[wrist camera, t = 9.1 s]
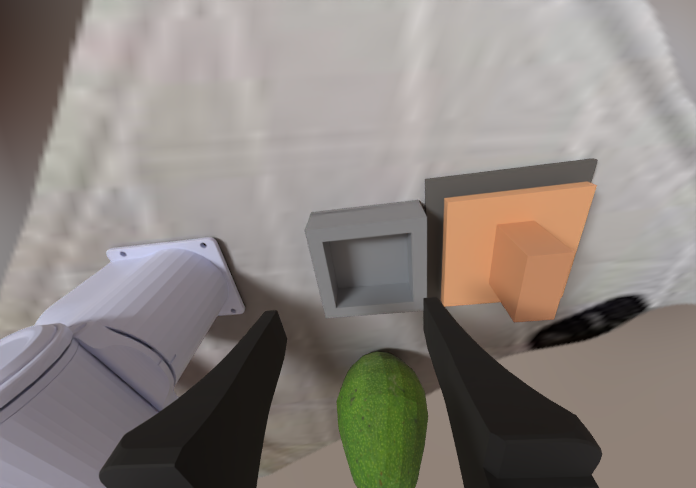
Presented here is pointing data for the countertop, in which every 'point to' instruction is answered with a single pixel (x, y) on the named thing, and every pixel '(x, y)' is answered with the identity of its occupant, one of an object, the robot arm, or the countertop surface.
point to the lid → (513, 247)
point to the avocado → (382, 422)
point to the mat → (487, 184)
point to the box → (370, 258)
